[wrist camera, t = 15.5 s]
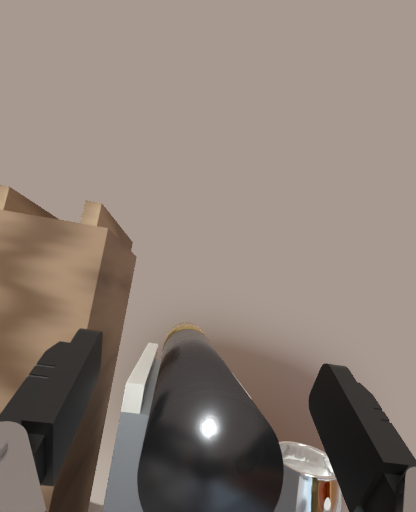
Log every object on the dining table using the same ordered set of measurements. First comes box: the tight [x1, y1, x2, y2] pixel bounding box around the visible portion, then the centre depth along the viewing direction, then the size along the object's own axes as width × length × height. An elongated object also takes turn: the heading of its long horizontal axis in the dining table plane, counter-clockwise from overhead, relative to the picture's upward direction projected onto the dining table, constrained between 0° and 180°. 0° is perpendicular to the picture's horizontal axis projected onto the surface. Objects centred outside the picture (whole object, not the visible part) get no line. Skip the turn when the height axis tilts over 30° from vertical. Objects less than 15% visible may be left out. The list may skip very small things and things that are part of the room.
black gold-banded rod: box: [137, 323, 284, 512], centre depth 19 cm, size 23×4×4 cm, turn 6°
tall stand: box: [0, 185, 136, 512], centre depth 23 cm, size 8×14×34 cm, turn 6°
